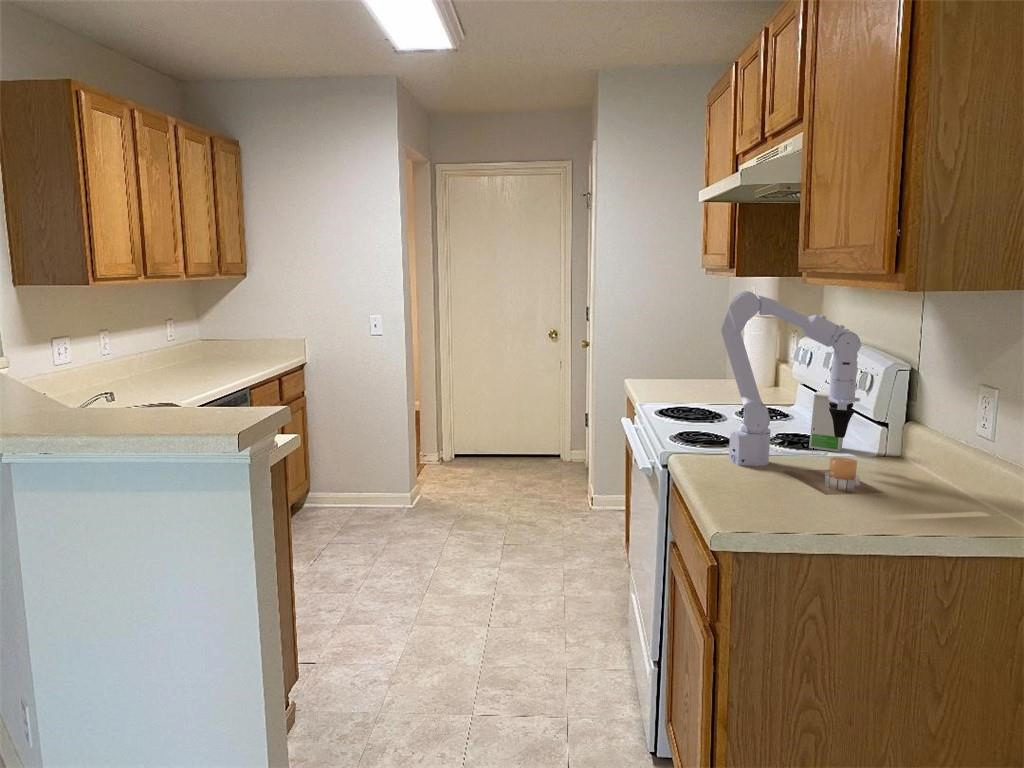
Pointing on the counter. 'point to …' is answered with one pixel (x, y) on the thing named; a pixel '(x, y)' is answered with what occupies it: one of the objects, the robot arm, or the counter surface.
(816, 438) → the skincare box
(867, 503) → the counter surface
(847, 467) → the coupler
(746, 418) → the robot arm
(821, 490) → the brown board
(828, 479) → the duct stub
